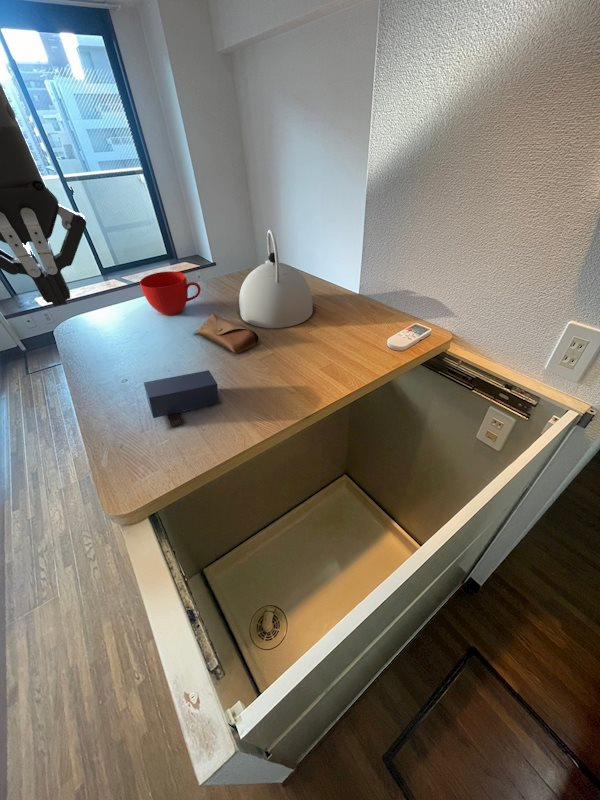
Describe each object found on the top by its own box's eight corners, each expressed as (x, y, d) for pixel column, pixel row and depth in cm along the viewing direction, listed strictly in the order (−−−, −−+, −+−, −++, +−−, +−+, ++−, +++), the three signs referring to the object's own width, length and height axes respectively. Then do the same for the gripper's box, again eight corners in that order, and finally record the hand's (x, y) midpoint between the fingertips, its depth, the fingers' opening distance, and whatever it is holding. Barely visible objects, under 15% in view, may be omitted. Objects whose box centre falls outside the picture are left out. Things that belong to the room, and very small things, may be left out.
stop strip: (171, 427, 64) (169, 423, 63) (160, 398, 70) (158, 394, 70) (181, 423, 65) (180, 419, 64) (169, 395, 71) (168, 391, 70)
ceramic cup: (200, 320, 98) (192, 287, 91) (144, 320, 98) (132, 288, 91) (209, 301, 107) (202, 270, 101) (158, 302, 108) (148, 271, 101)
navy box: (149, 398, 60) (217, 383, 66) (143, 382, 64) (208, 370, 70) (153, 418, 63) (218, 403, 69) (147, 402, 67) (210, 388, 73)
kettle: (237, 296, 110) (227, 222, 96) (303, 290, 114) (302, 217, 99) (242, 331, 92) (230, 247, 77) (320, 323, 95) (323, 240, 80)
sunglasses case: (192, 332, 91) (197, 309, 89) (211, 335, 97) (216, 313, 95) (236, 354, 82) (243, 328, 80) (254, 356, 88) (261, 332, 86)
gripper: (52, 121, 35) (114, 283, 46) (-115, 122, 30) (0, 303, 41) (52, 121, 30) (121, 302, 41) (-149, 122, 25) (-7, 328, 36)
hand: (60, 303), depth 41 cm, fingers closed
